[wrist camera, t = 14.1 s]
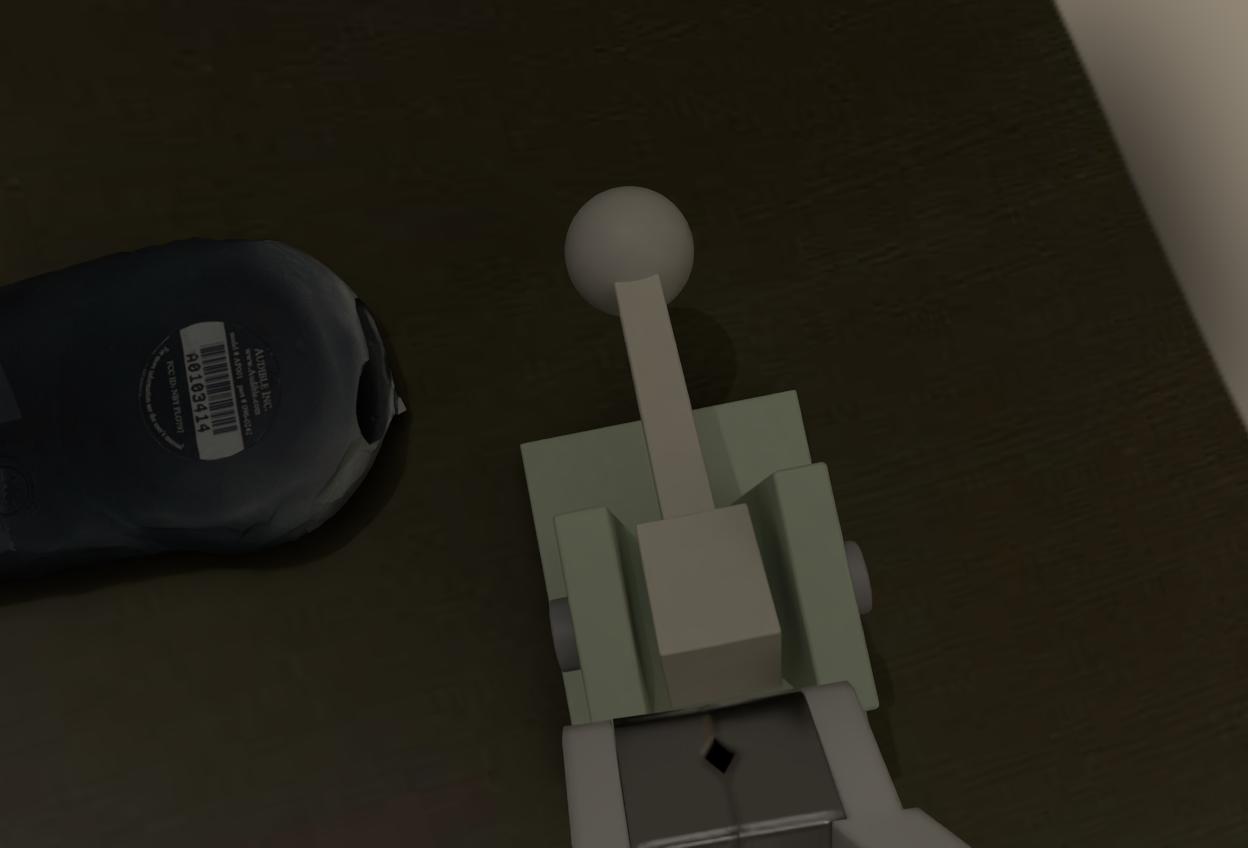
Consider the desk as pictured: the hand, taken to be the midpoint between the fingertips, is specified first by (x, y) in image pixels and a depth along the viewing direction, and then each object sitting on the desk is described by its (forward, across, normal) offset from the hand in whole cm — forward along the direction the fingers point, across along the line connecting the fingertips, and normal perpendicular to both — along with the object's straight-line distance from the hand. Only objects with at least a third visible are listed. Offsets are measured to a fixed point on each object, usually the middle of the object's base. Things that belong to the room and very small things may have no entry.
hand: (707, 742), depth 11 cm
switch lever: (+13, +1, -5) cm, 14 cm away
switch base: (+16, +2, -13) cm, 21 cm away
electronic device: (+22, -14, -8) cm, 27 cm away
